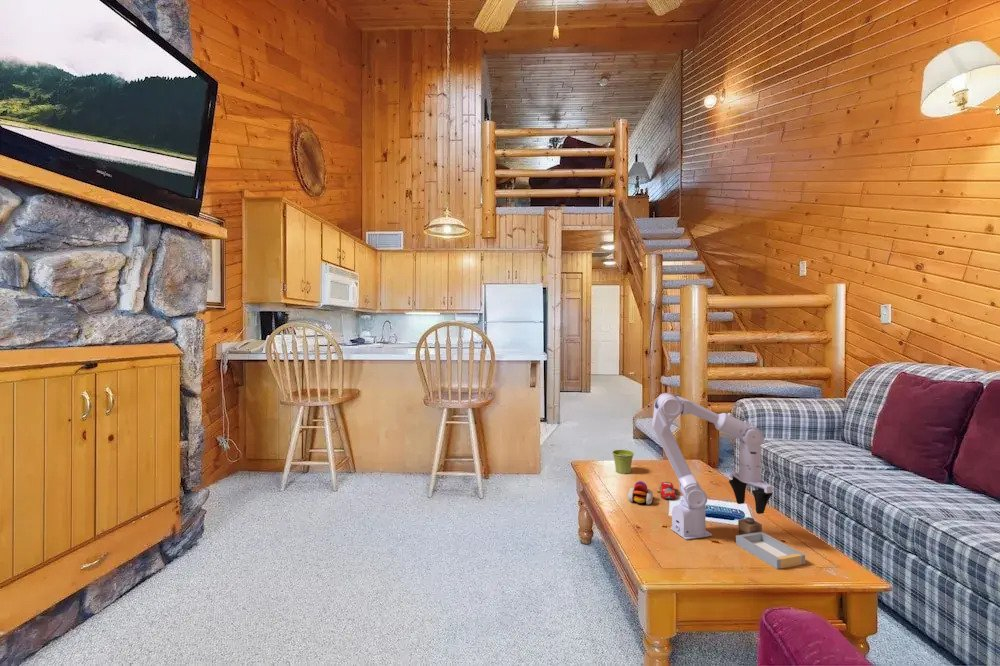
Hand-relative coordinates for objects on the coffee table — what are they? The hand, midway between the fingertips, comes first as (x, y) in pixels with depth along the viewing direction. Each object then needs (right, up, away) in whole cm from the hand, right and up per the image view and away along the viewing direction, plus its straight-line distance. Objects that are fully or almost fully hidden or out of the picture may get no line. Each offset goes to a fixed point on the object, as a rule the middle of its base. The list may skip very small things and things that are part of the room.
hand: (750, 508), depth 139 cm
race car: (-12, -9, +35) cm, 38 cm away
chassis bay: (0, -9, -10) cm, 14 cm away
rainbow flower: (-25, -9, +29) cm, 39 cm away
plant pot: (-22, -8, +62) cm, 66 cm away
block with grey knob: (0, -9, 0) cm, 9 cm away
